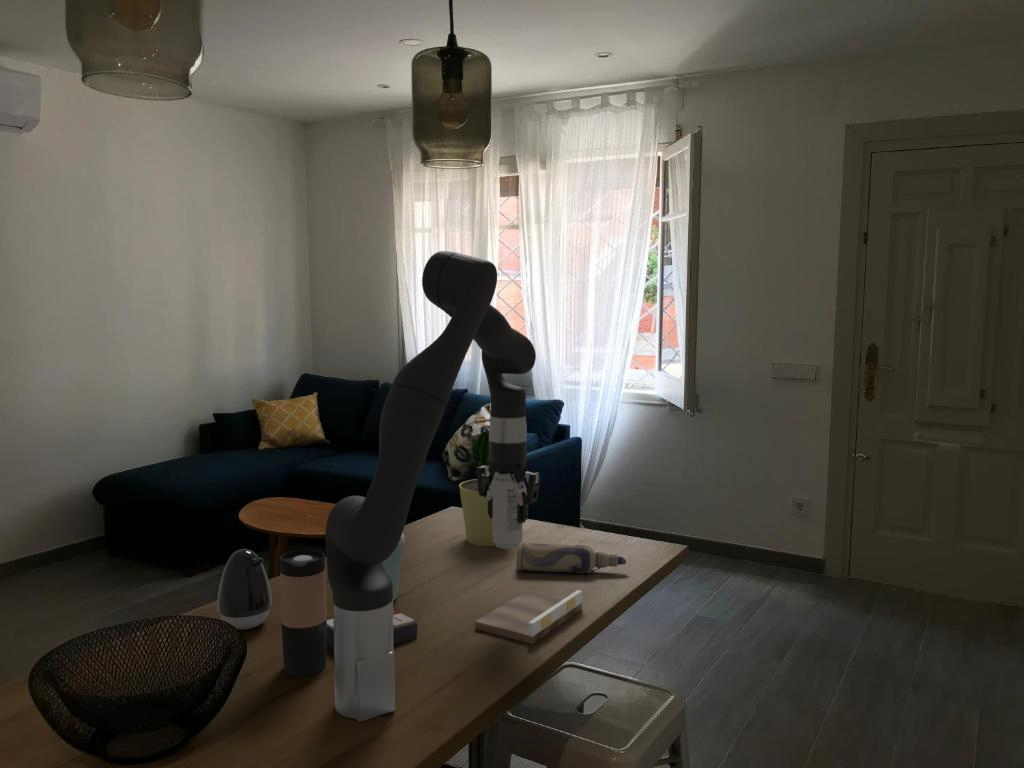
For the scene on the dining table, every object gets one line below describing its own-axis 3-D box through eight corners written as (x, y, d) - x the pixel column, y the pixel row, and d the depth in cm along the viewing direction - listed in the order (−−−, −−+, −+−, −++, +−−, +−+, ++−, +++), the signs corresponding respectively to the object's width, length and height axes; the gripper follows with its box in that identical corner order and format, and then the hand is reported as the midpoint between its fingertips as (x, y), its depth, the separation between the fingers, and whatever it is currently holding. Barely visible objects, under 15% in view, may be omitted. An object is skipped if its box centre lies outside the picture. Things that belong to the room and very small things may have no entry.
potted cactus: (493, 527, 227) (493, 421, 224) (529, 540, 215) (530, 428, 212) (447, 538, 217) (447, 427, 214) (482, 552, 206) (483, 435, 202)
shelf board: (532, 644, 152) (532, 636, 152) (475, 628, 159) (475, 621, 159) (581, 609, 169) (582, 602, 169) (528, 596, 176) (528, 590, 176)
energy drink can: (507, 538, 169) (508, 467, 168) (528, 545, 165) (529, 472, 164) (486, 544, 165) (486, 472, 164) (507, 551, 161) (507, 476, 159)
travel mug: (309, 653, 148) (307, 546, 146) (336, 665, 143) (334, 555, 141) (273, 668, 142) (270, 556, 140) (300, 681, 137) (297, 566, 135)
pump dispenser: (243, 640, 153) (240, 561, 152) (206, 628, 159) (203, 552, 157) (284, 621, 162) (282, 547, 160) (248, 610, 167) (246, 538, 166)
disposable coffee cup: (395, 609, 168) (394, 538, 167) (346, 605, 170) (345, 535, 169) (412, 591, 179) (411, 524, 177) (365, 587, 181) (364, 521, 179)
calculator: (418, 619, 155) (349, 637, 145) (417, 641, 156) (349, 660, 145) (386, 602, 163) (319, 618, 153) (385, 623, 164) (318, 640, 153)
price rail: (533, 636, 152) (533, 623, 152) (528, 635, 152) (528, 622, 152) (582, 602, 169) (583, 591, 168) (577, 601, 169) (577, 589, 169)
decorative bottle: (514, 575, 189) (514, 547, 189) (517, 565, 197) (517, 538, 196) (626, 579, 187) (627, 551, 186) (625, 568, 195) (625, 541, 194)
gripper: (548, 438, 162) (547, 521, 164) (487, 432, 170) (487, 511, 172) (529, 444, 156) (529, 530, 158) (467, 437, 163) (467, 519, 165)
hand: (507, 519), depth 165 cm, fingers closed on energy drink can, 6 cm apart
